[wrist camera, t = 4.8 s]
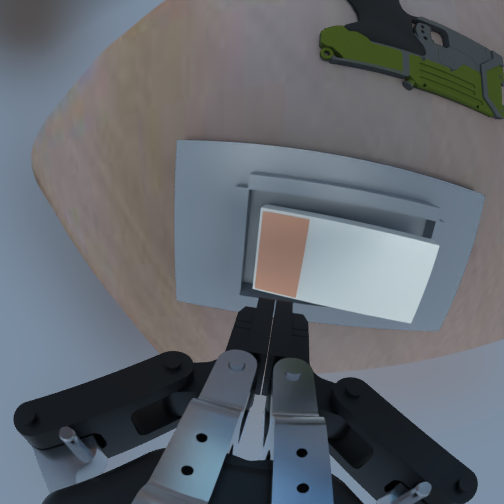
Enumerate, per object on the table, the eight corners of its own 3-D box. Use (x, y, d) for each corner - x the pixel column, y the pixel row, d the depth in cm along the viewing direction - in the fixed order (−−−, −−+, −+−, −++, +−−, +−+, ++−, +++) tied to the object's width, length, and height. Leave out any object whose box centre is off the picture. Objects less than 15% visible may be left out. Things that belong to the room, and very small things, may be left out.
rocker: (434, 240, 15) (440, 246, 14) (408, 314, 18) (411, 324, 17) (265, 203, 19) (260, 207, 17) (257, 281, 21) (251, 289, 20)
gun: (481, 8, 10) (495, 126, 16) (315, -49, 12) (318, 75, 18) (493, 3, 8) (510, 128, 14) (316, -62, 9) (321, 67, 16)
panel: (473, 190, 18) (498, 200, 15) (431, 320, 24) (445, 343, 20) (186, 140, 21) (165, 140, 17) (184, 289, 26) (168, 312, 22)
